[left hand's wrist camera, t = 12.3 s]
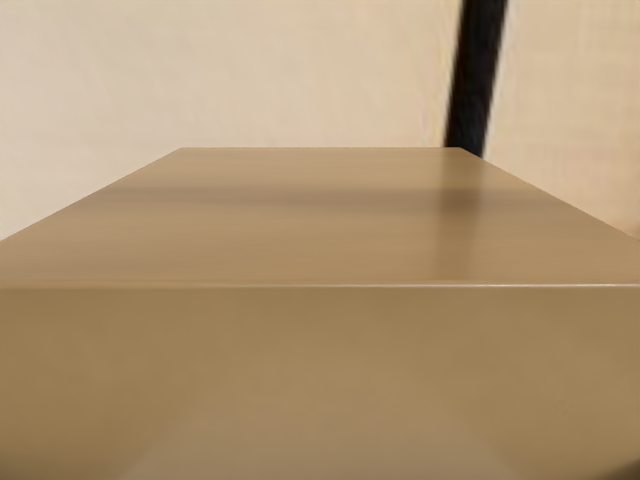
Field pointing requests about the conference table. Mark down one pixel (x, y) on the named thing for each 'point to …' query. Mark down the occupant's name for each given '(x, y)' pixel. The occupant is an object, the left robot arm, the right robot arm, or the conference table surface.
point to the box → (320, 325)
